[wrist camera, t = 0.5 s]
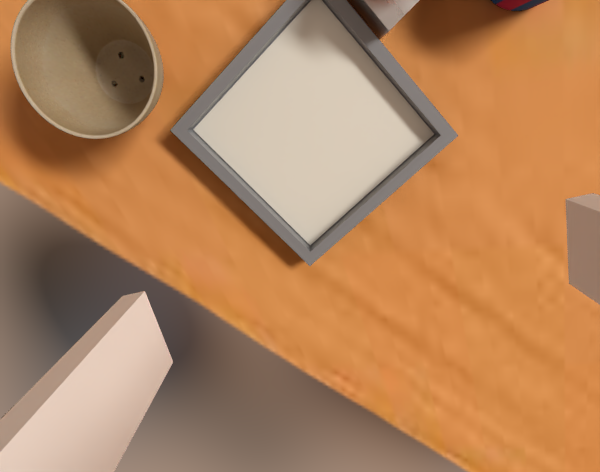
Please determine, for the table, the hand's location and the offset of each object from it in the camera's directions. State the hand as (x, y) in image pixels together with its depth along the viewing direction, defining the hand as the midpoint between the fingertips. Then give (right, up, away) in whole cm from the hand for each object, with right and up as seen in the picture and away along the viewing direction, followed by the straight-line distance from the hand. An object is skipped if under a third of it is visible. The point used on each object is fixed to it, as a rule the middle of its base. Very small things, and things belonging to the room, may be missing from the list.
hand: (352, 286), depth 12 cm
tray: (0, +11, +23) cm, 25 cm away
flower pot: (-16, +16, +22) cm, 31 cm away
